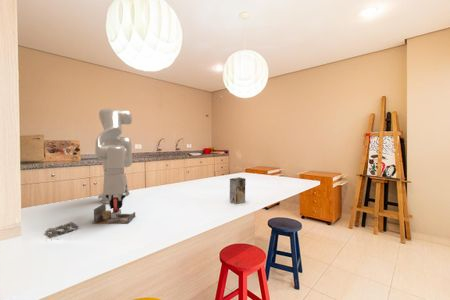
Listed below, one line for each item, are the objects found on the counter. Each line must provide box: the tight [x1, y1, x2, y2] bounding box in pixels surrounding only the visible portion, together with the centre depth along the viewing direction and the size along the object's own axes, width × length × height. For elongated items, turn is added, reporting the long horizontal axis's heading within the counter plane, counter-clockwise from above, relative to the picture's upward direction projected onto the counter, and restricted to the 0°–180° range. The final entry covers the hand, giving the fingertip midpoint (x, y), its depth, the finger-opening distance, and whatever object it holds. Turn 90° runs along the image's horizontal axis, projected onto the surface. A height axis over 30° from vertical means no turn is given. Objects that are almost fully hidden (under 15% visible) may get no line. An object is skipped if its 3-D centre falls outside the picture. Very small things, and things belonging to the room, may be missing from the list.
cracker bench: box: [91, 203, 137, 225], centre depth 106 cm, size 17×10×8 cm, turn 92°
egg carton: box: [44, 221, 80, 238], centre depth 92 cm, size 11×8×4 cm
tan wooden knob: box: [102, 209, 112, 221], centre depth 106 cm, size 4×4×4 cm
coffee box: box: [229, 177, 246, 205], centre depth 144 cm, size 9×6×16 cm
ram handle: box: [111, 197, 122, 219], centre depth 106 cm, size 3×5×11 cm, turn 2°
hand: (116, 207), depth 106 cm, fingers closed on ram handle, 2 cm apart
